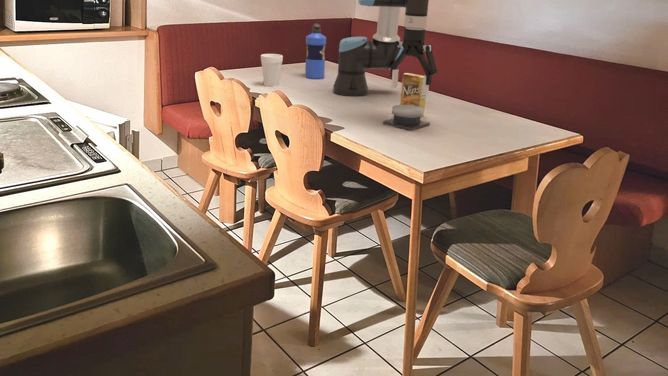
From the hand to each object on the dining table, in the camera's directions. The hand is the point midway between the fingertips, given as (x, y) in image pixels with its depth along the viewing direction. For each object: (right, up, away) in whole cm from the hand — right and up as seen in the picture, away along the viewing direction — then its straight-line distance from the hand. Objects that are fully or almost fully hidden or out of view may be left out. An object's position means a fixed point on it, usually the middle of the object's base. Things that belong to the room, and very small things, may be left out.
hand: (409, 90), depth 228 cm
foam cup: (-54, +11, +59) cm, 81 cm away
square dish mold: (-1, -11, +4) cm, 12 cm away
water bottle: (-36, +18, +80) cm, 89 cm away
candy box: (+3, -7, +19) cm, 20 cm away
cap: (-1, -10, +4) cm, 11 cm away
